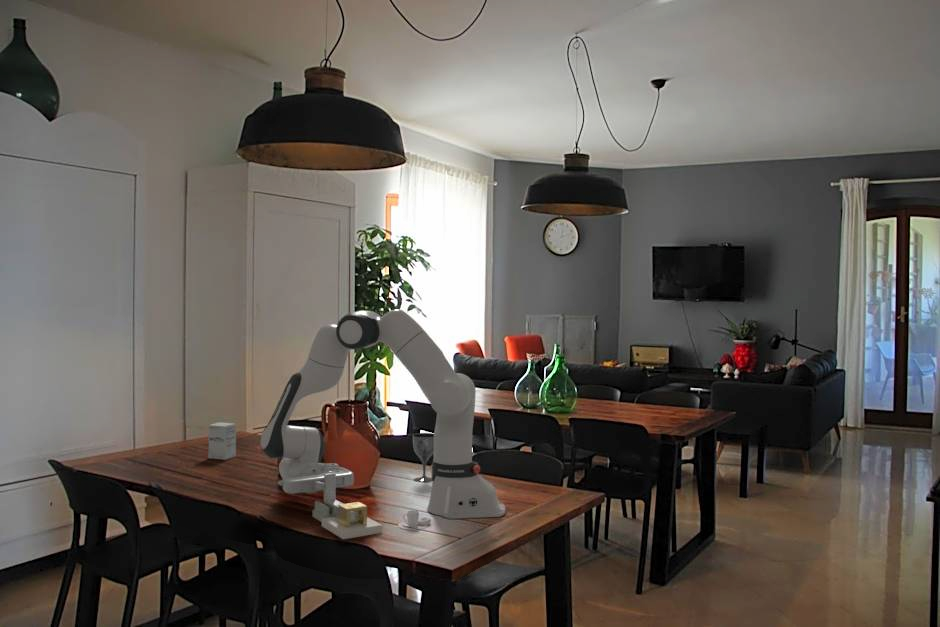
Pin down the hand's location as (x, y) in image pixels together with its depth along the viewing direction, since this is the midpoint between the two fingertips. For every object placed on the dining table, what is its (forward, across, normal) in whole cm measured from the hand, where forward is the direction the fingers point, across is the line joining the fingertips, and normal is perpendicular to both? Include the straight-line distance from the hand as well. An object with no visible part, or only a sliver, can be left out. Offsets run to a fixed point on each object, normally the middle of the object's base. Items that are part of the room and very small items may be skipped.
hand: (329, 487), depth 221 cm
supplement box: (-94, -1, +8) cm, 94 cm away
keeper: (+15, 0, +6) cm, 16 cm away
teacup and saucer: (+22, +17, +9) cm, 29 cm away
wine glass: (-25, +45, +9) cm, 52 cm away
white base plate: (+13, 0, +8) cm, 16 cm away
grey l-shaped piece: (+8, 0, +6) cm, 10 cm away
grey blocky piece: (+1, 0, +8) cm, 8 cm away
